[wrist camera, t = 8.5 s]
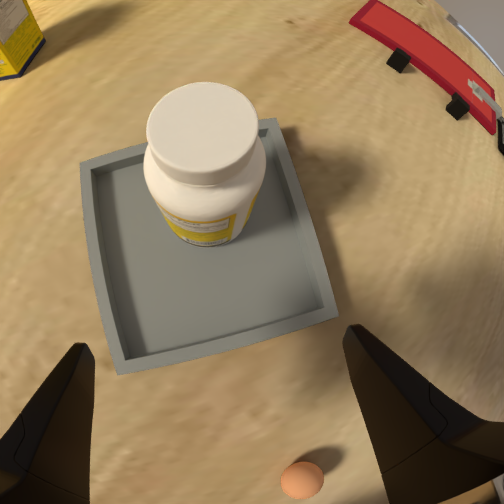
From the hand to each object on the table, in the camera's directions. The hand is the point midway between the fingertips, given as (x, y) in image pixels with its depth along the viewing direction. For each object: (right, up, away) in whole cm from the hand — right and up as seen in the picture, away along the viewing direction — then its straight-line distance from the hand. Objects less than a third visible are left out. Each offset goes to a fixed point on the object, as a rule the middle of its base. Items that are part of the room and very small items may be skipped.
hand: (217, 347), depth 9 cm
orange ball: (+4, -13, +8) cm, 16 cm away
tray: (-2, +4, +10) cm, 11 cm away
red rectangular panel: (+27, +25, +18) cm, 41 cm away
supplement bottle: (-2, +6, +10) cm, 12 cm away
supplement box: (-25, +25, +11) cm, 37 cm away
